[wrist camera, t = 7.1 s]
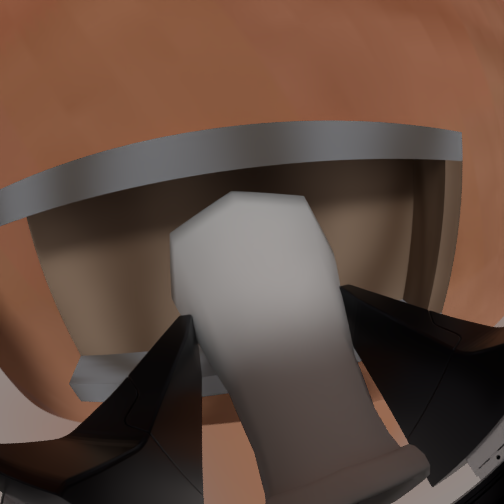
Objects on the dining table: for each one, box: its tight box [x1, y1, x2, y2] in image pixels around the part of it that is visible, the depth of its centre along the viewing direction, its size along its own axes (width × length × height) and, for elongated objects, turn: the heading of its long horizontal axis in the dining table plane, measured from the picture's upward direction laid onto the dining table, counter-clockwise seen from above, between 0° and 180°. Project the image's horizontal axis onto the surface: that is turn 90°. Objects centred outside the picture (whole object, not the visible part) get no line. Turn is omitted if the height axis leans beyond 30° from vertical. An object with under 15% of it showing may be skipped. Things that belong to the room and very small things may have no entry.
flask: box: [170, 191, 430, 504], centre depth 7 cm, size 7×7×10 cm
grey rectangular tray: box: [0, 121, 462, 402], centre depth 12 cm, size 22×12×4 cm, turn 96°
